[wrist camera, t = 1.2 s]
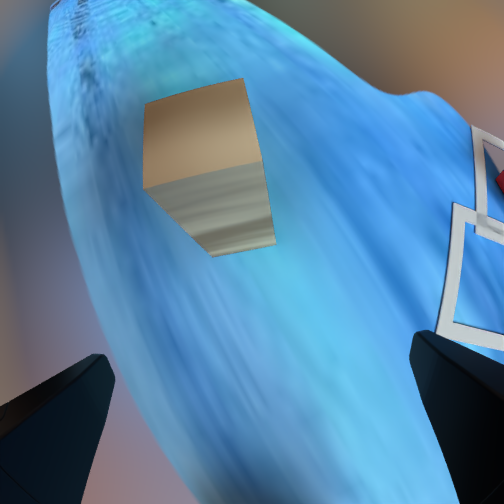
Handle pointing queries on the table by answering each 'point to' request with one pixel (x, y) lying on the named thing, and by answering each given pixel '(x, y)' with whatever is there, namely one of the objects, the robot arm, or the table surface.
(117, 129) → the table surface
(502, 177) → the toy building block
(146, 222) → the table surface
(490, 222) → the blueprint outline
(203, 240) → the beech pillar
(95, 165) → the table surface
